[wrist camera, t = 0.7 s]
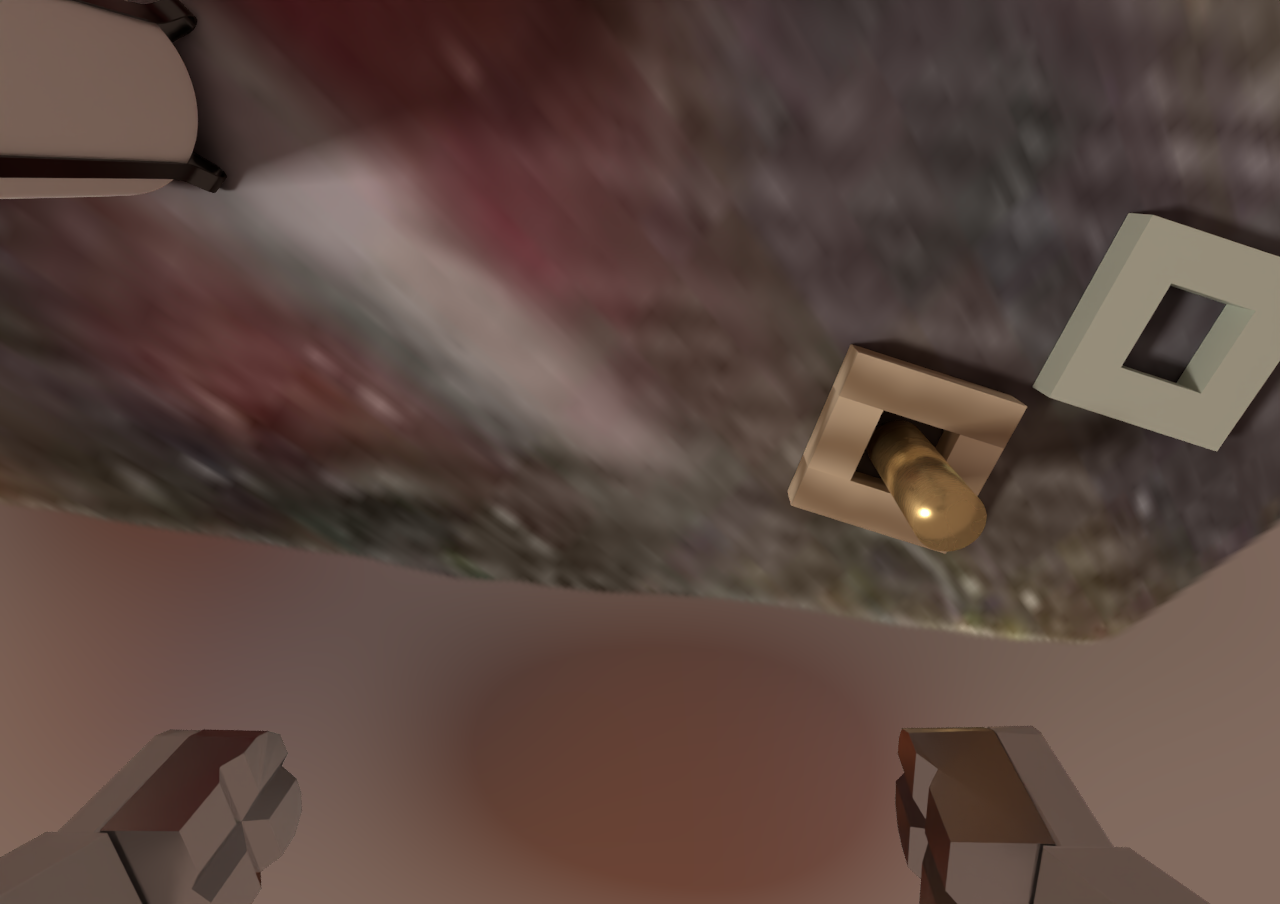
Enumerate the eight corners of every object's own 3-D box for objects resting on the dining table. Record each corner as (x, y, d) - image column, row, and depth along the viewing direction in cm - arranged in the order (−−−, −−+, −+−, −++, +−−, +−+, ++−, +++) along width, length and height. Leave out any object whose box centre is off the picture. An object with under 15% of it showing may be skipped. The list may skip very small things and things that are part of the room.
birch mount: (850, 343, 47) (858, 352, 45) (1011, 395, 48) (1027, 406, 45) (787, 490, 52) (791, 505, 49) (934, 537, 52) (945, 553, 50)
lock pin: (880, 412, 49) (932, 480, 38) (932, 429, 49) (999, 501, 38) (858, 460, 50) (901, 539, 39) (908, 476, 51) (966, 559, 39)
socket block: (1128, 213, 43) (1152, 214, 40) (1304, 271, 43) (1338, 276, 41) (1032, 386, 47) (1049, 397, 45) (1191, 438, 48) (1216, 451, 45)
